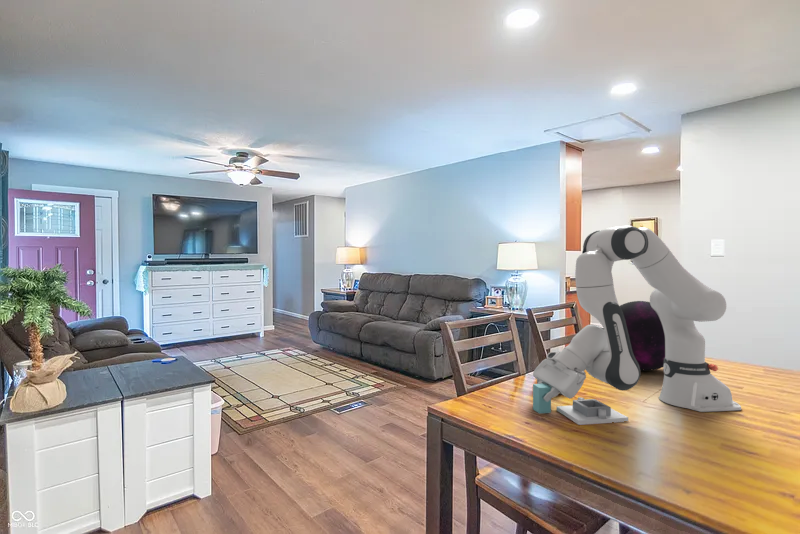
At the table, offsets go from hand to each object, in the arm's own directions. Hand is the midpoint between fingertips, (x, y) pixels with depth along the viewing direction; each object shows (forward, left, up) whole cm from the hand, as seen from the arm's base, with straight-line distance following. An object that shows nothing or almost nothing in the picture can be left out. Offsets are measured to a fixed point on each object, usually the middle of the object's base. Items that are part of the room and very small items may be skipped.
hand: (540, 397), depth 131 cm
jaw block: (-1, 0, -4) cm, 4 cm away
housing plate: (-15, +3, -4) cm, 16 cm away
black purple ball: (-58, -55, -5) cm, 80 cm away
